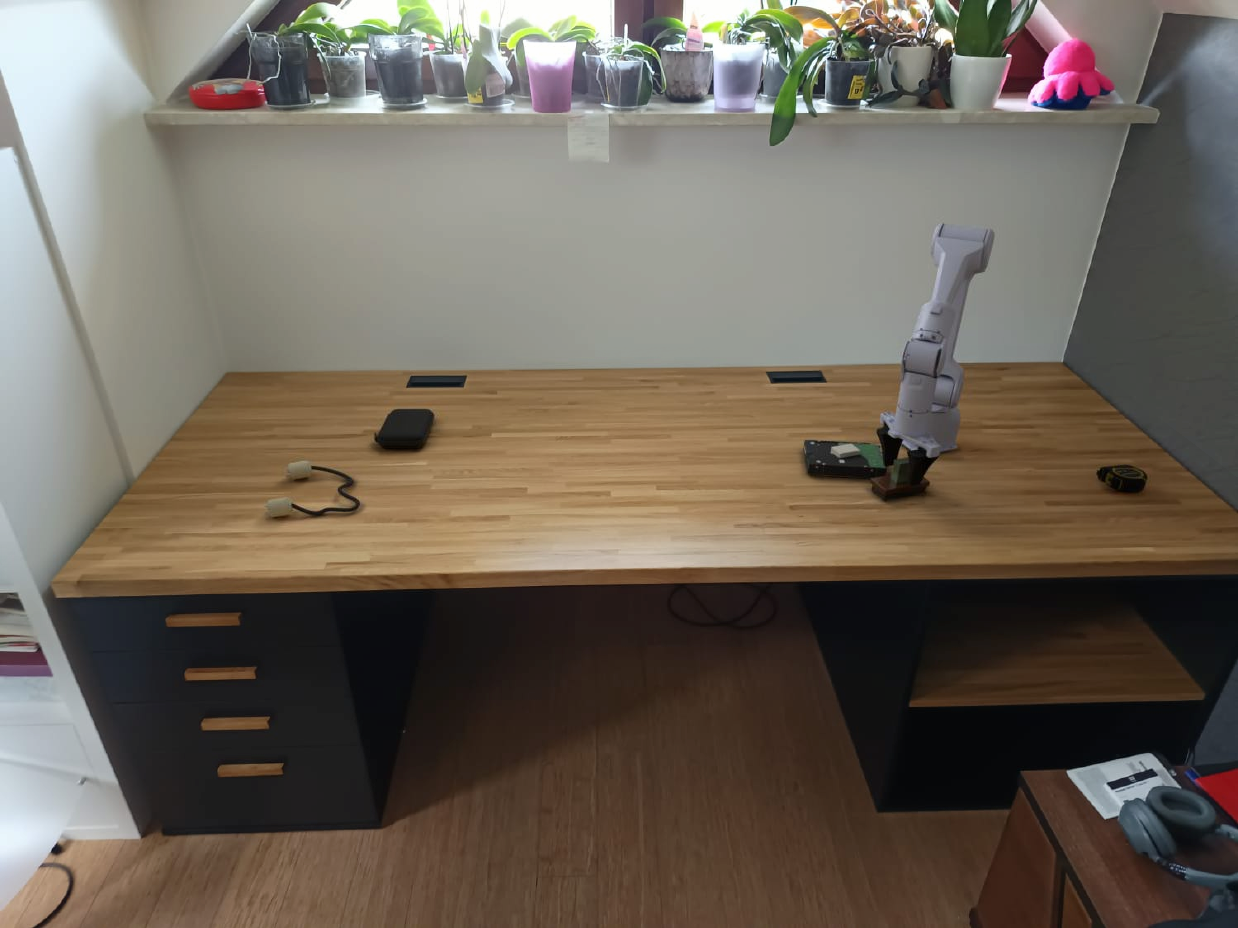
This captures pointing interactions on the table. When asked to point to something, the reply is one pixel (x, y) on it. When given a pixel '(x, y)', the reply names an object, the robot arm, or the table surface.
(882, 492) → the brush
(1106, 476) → the tape measure
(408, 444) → the carrying case
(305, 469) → the cable
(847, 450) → the eraser
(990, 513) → the table surface
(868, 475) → the disk drive
